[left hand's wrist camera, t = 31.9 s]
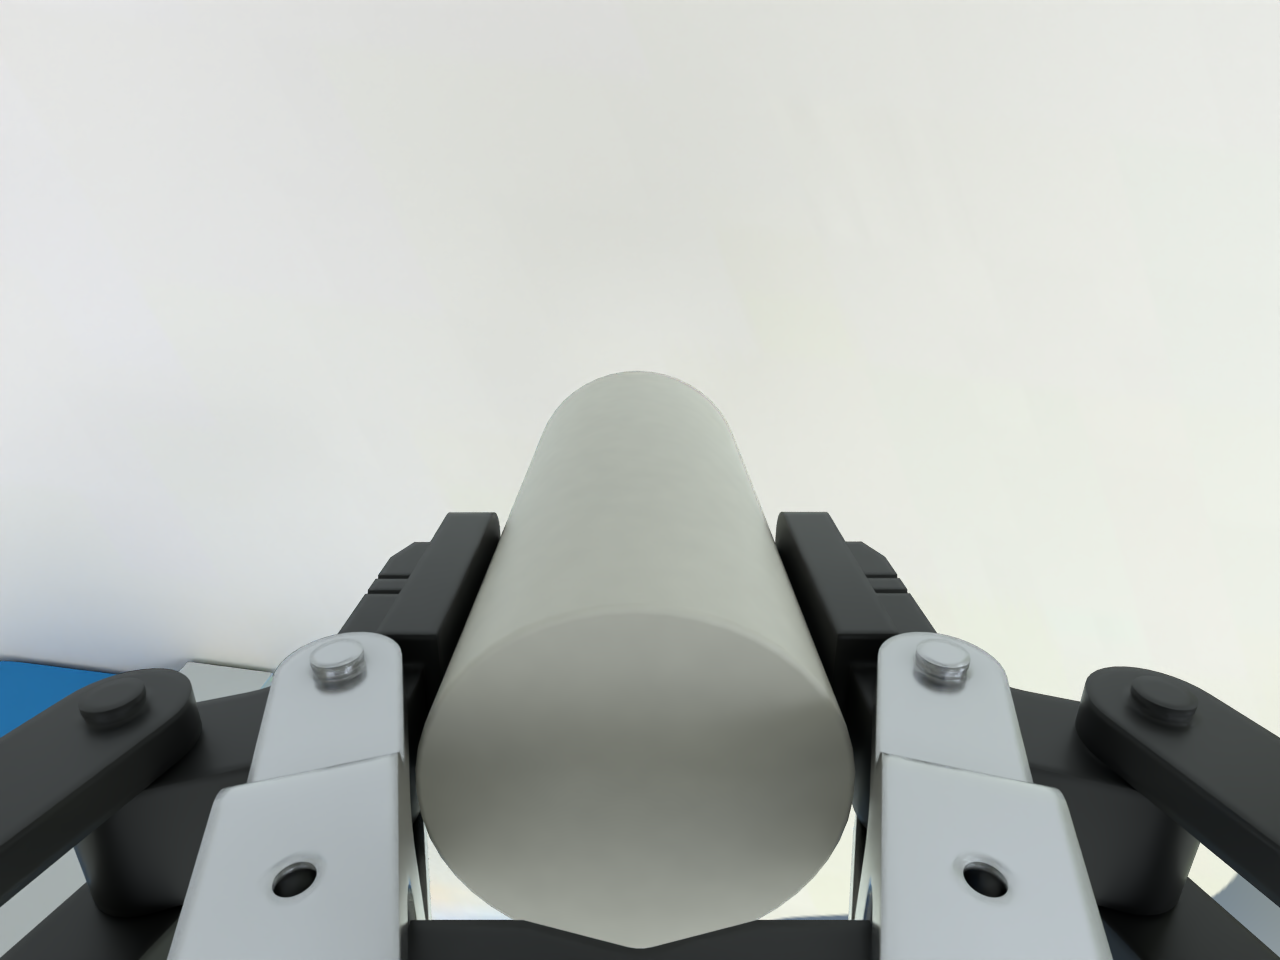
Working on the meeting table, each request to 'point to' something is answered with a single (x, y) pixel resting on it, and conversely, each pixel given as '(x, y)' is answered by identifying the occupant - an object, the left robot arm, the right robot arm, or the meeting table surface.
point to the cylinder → (635, 689)
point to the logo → (26, 690)
